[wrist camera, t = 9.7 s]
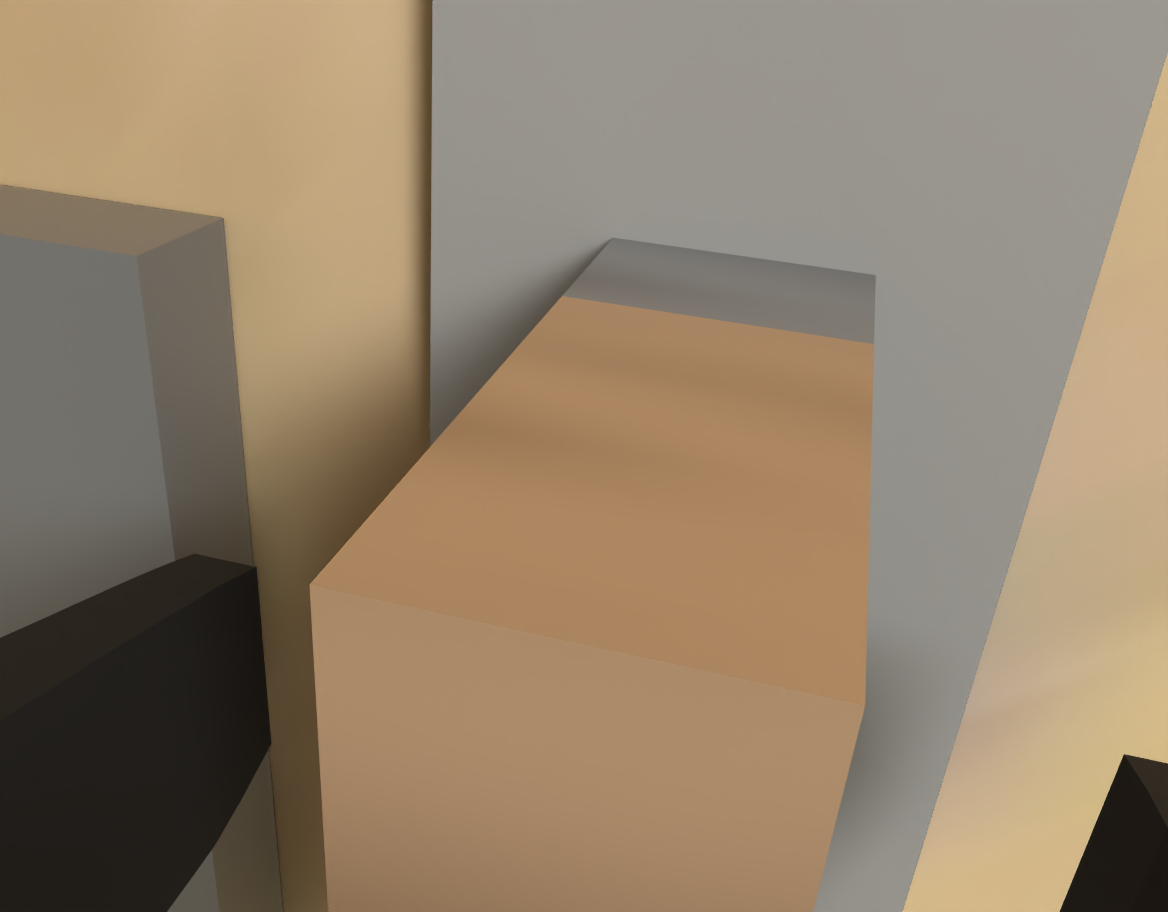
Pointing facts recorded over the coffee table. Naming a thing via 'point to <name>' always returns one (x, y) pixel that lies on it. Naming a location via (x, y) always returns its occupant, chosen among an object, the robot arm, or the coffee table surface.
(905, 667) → the tool pad
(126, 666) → the robot arm
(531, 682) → the bar
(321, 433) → the coffee table surface
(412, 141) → the coffee table surface
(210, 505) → the switch board
